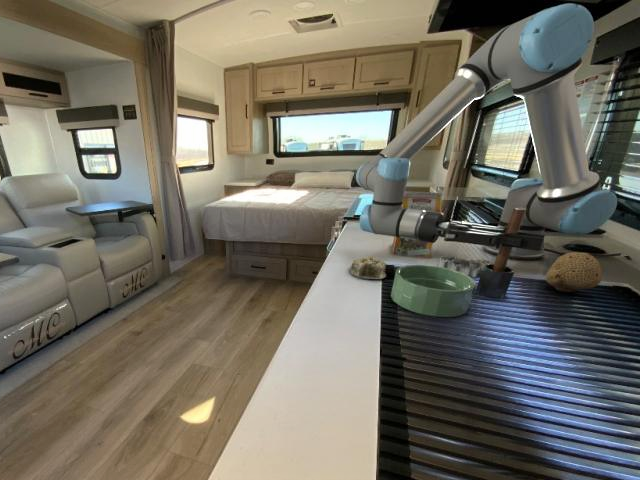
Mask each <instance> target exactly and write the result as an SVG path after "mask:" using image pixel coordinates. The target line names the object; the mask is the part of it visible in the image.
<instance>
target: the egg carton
mask: <svg viewBox="0 0 640 480" xmlns="http://www.w3.org/2000/svg"><path fill="white" fill-rule="evenodd" d="M439 258H440V259H439V263H438V267H443V268H448V269H452V270H455V271H458V272H461V273H463V274H465V275H468V276H470V277H471V278H477V277H478V275H479V276H480V275H481V272H482V269H483V266H484V265H486V264H490V261H489V260H486V259H476V260H475V259H466V258H462V257H461V258H460V257H455V256H453V255H451V254H450V255H449V254H447V255H442V256H439Z"/></svg>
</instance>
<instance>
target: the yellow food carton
mask: <svg viewBox="0 0 640 480" xmlns="http://www.w3.org/2000/svg"><path fill="white" fill-rule="evenodd" d="M442 196H443V193H442V192H432V191H431V192H430V191H428V192H427V191H405V194H404V198H403V204H402V208H404V209H415V210H424V211H425V212H428V211H431V212H440V213H442V212H441V211H442ZM433 245H434V243H428V242H422V241H419V239H417V240H411V239H409V241H406V240H405V238H399V237H393V242H392V255H397V256H406V257H416V258H417V257H418V258H426V259H429V258H430V256H431V252H432V248H433Z"/></svg>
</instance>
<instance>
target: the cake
mask: <svg viewBox="0 0 640 480" xmlns="http://www.w3.org/2000/svg"><path fill="white" fill-rule="evenodd" d="M386 268H387V263H386V262H384V261H382V260H380V259H377V258H374V257H373V256H372V255H371V256H368V257H359V258H355V259H353V261H352V263H351V266H350V268H349V270H348V272H349V273H350V274H351V275H353V276H356V277H359V278H363V279H371V280H383V279H384V278H386V277H387V274H386Z"/></svg>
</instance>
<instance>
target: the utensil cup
mask: <svg viewBox="0 0 640 480" xmlns="http://www.w3.org/2000/svg"><path fill="white" fill-rule="evenodd" d="M493 266H494V263H488V264H486V265H484V266H483V269H482V272H481V275H480V274H479V278H478V282H477V284H476V287H475V290H474V293H476V295H479V296H480V297H482V298H483V297H484V298H487V299H491V300H492V299H493V300H503V299H505V298H506V295H507V293H508V290H509V288H510V285H511V281H512V279H513V277H514V274H515V269H514V268H512V267H510V266H507V265H506V267H505V270H504V272H500V271H494V270H492V269H493Z"/></svg>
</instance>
